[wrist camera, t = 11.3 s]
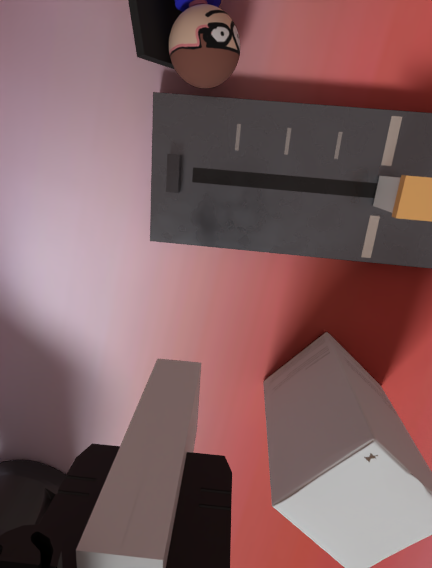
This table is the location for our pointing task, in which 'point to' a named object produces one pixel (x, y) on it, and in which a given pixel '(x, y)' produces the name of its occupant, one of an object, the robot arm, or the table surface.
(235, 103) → the panel
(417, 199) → the block
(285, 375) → the supplement box
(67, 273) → the table surface
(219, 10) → the character figurine
